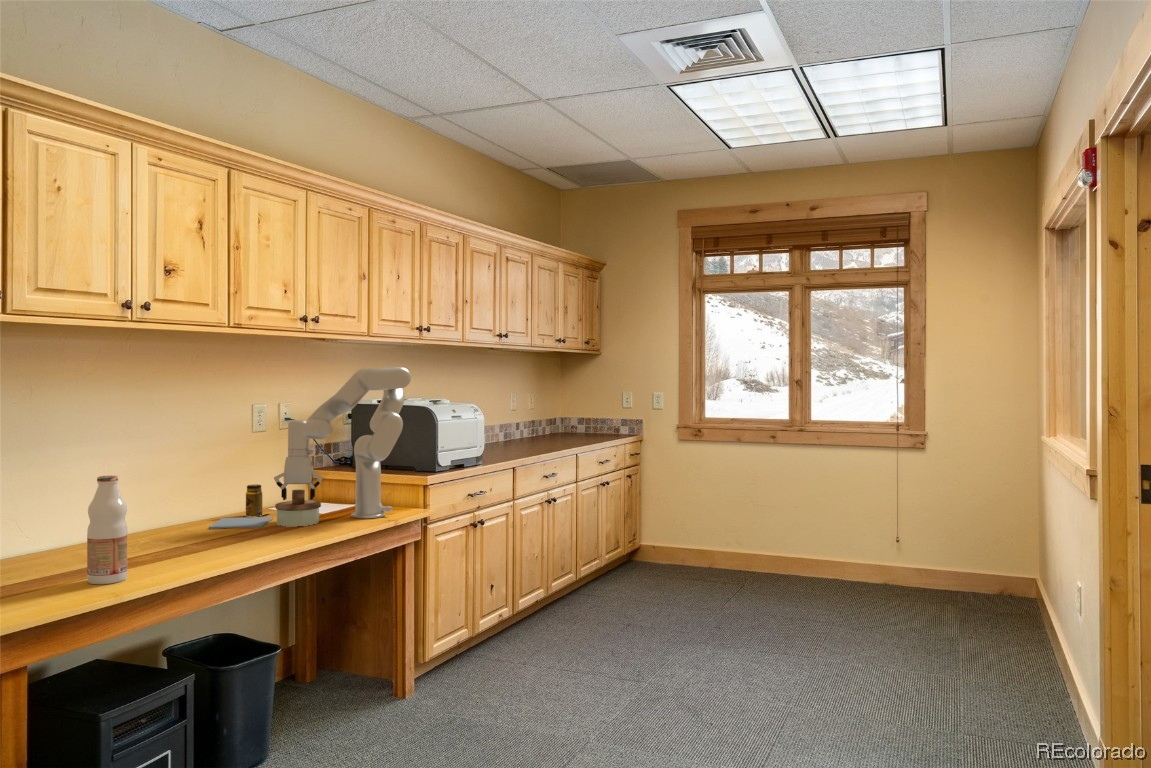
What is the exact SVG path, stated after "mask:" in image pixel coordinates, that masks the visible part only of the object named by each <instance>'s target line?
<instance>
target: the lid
mask: <svg viewBox="0 0 1151 768" xmlns="http://www.w3.org/2000/svg"><path fill="white" fill-rule="evenodd" d="M305 491H306V490H305V489H292V490H291V500H289V501H288V500H287V501H281V502H277V503H276V504H275V506H274V508H275V510H277V509H278V510H285V511H300V510H311V509H316V508H319V509H320V508H321V507H322V502H320V501H318V500H305Z"/></svg>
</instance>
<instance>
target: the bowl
mask: <svg viewBox="0 0 1151 768" xmlns="http://www.w3.org/2000/svg"><path fill="white" fill-rule="evenodd" d="M319 522H320V507H319V508H316V509H311V510H300V511H285V510H278V509H276V525H277V526H280V525H281V527H285V526H286V527H285V528H292V527H293V528H295V527H297V526H304V527H309V526H308V525H310V526H314V525H313V524H316V525H317V524H318V523H319Z"/></svg>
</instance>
